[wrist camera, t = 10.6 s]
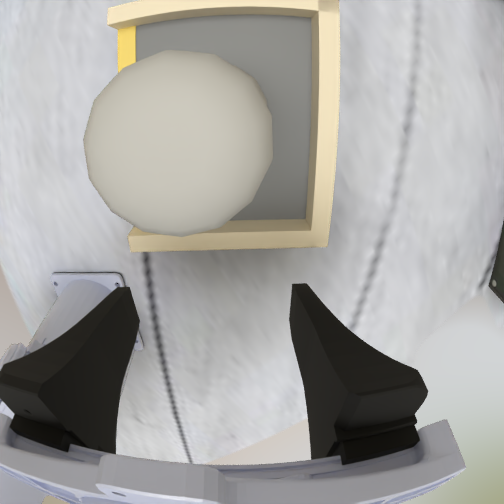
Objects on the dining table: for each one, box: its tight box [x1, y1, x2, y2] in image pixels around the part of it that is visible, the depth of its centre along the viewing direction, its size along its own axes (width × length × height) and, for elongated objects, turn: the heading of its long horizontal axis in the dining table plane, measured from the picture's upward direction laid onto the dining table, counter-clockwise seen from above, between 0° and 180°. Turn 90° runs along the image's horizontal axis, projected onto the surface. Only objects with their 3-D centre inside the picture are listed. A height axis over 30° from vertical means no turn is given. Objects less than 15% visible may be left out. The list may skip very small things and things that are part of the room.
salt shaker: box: [83, 50, 273, 237], centre depth 11 cm, size 6×6×13 cm
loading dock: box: [107, 0, 340, 252], centre depth 17 cm, size 16×13×4 cm
